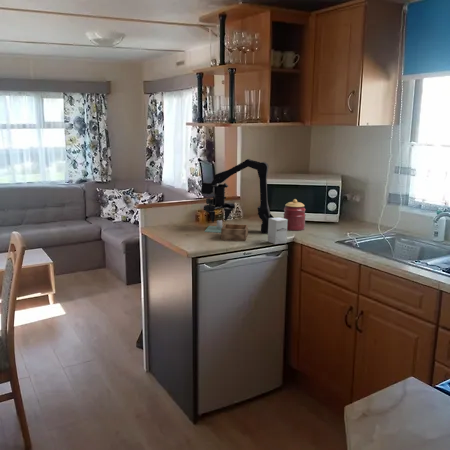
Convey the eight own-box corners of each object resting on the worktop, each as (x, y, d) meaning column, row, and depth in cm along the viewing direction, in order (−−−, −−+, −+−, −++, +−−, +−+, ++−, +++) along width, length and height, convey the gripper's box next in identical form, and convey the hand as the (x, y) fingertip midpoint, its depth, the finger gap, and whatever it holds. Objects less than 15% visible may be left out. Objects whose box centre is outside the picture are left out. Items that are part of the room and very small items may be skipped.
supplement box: (275, 244, 243) (275, 220, 241) (267, 241, 250) (268, 217, 247) (287, 243, 247) (288, 219, 244) (279, 240, 253) (279, 216, 250)
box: (247, 235, 262) (247, 224, 261) (245, 241, 250) (245, 229, 249) (224, 234, 264) (224, 223, 263) (221, 239, 251) (221, 228, 250)
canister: (305, 226, 287) (306, 197, 283) (304, 231, 275) (306, 201, 271) (283, 225, 289) (284, 197, 286) (282, 230, 277) (283, 200, 273)
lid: (233, 228, 282) (233, 218, 281) (230, 234, 268) (230, 223, 266) (208, 227, 284) (208, 217, 283) (204, 233, 270) (204, 222, 268)
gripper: (224, 192, 283) (223, 217, 287) (198, 194, 272) (198, 221, 275) (235, 194, 275) (235, 220, 278) (209, 196, 264) (209, 224, 267)
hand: (219, 221), depth 275 cm, fingers open, 9 cm apart
